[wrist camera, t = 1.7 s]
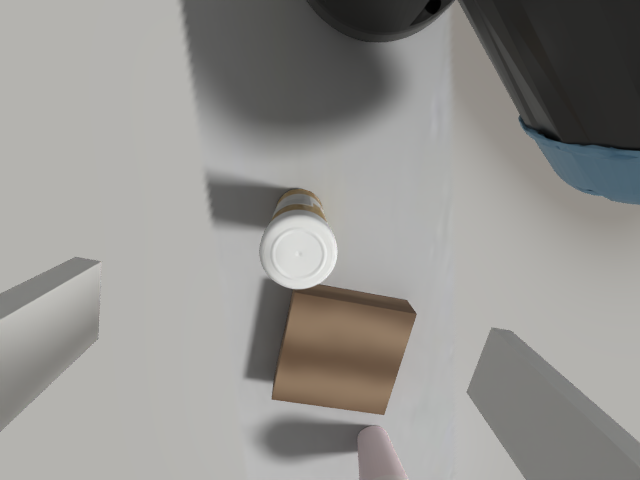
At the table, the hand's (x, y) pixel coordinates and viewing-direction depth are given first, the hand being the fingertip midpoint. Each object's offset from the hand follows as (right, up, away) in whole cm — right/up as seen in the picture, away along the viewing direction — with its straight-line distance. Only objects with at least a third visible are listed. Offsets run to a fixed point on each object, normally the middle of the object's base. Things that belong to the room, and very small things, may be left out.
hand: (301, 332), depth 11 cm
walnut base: (+3, -8, +25) cm, 26 cm away
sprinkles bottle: (-1, +6, +21) cm, 22 cm away
